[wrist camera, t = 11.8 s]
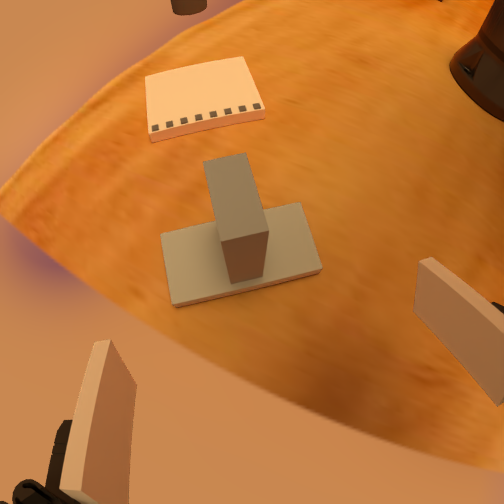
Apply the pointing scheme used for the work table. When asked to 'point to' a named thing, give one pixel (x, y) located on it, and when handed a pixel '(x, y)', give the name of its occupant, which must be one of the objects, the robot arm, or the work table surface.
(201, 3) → the bottle
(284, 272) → the stub
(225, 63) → the notepad
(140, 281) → the work table surface
